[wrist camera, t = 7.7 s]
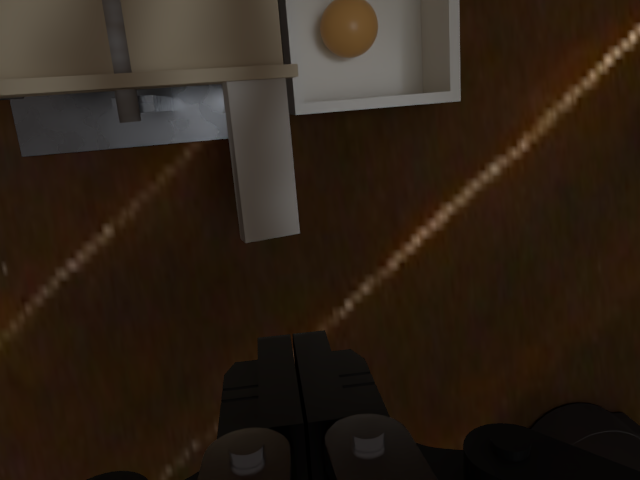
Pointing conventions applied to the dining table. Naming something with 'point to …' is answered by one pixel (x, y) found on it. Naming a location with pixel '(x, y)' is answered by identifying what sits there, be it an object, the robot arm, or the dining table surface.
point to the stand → (103, 121)
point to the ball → (349, 27)
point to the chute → (170, 77)
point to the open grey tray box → (374, 58)
